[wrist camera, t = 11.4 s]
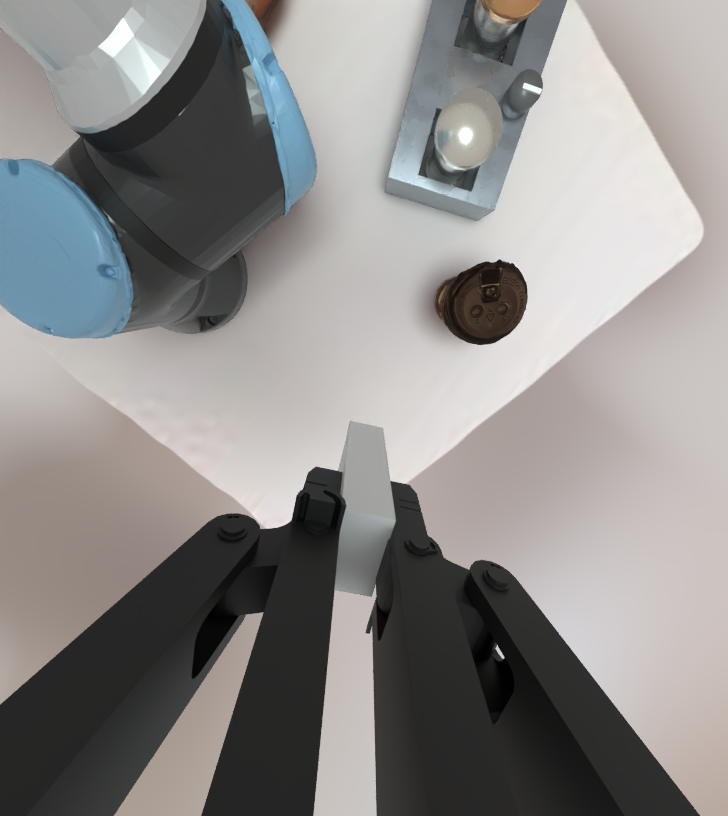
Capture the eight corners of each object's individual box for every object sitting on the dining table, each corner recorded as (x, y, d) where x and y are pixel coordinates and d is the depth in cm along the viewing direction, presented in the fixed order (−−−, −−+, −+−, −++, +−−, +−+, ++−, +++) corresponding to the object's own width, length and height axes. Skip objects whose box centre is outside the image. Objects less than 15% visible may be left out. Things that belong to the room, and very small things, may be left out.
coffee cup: (452, 251, 44) (487, 237, 32) (503, 288, 46) (554, 287, 34) (414, 311, 47) (432, 319, 34) (463, 344, 48) (497, 363, 36)
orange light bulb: (444, 74, 38) (471, -1, 28) (462, 6, 36) (499, -99, 26) (493, 91, 38) (538, 24, 28) (514, 25, 36) (569, -71, 27)
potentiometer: (497, 114, 35) (508, 100, 32) (508, 80, 34) (520, 63, 31) (523, 122, 35) (536, 109, 33) (534, 89, 34) (548, 73, 32)
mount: (384, 192, 42) (388, 176, 37) (435, -9, 36) (448, -64, 31) (477, 220, 43) (494, 210, 38) (540, 30, 37) (572, -16, 32)
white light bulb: (413, 187, 41) (428, 155, 31) (428, 130, 39) (450, 77, 30) (459, 201, 42) (488, 174, 32) (476, 146, 40) (513, 99, 30)
